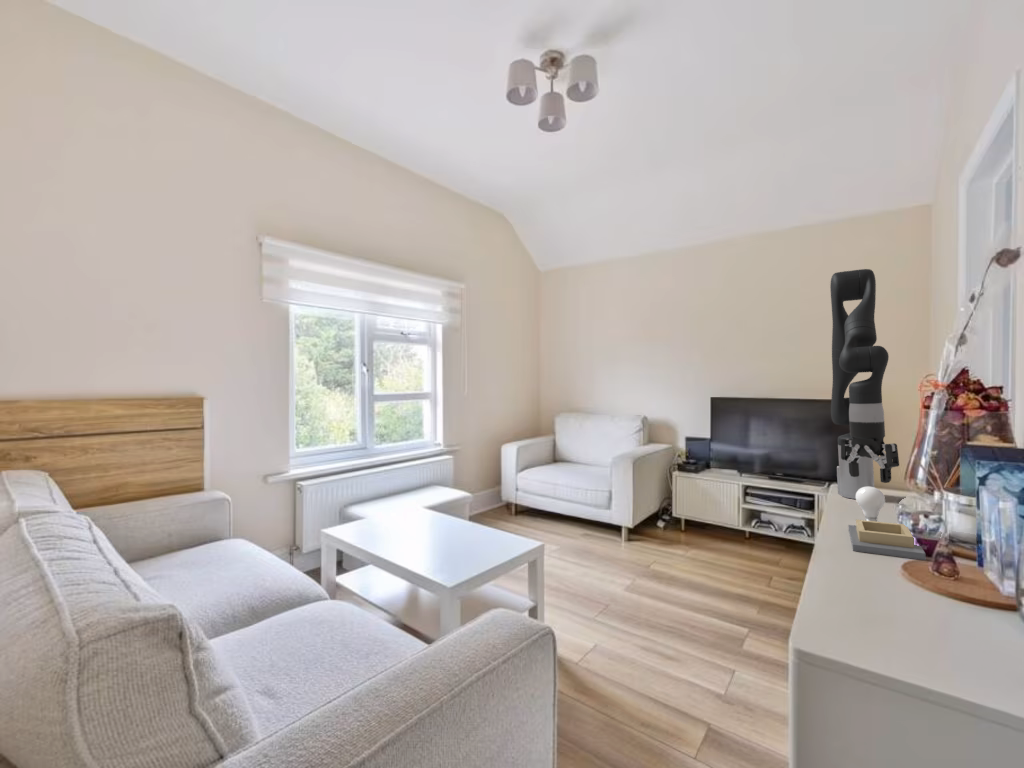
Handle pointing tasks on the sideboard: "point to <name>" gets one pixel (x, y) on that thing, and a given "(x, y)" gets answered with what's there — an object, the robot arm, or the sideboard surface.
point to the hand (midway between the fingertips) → (869, 479)
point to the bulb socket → (884, 539)
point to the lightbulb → (870, 502)
